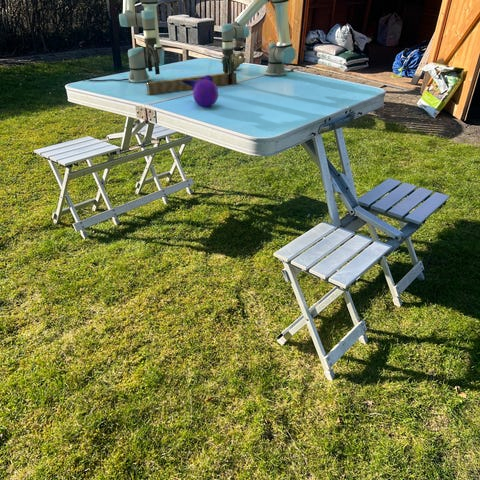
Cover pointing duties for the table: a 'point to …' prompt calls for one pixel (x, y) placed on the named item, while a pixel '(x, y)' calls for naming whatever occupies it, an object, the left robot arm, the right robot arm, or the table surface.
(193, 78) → the bar
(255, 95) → the table surface
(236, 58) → the teapot
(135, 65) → the left robot arm
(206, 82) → the toy
